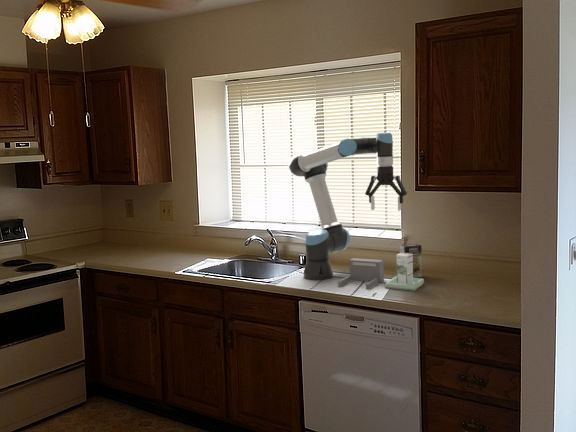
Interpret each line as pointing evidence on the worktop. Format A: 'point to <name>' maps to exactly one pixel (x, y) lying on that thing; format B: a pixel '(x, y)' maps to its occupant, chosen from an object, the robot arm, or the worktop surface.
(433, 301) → the worktop surface
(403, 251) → the coffee box
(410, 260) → the syrup box
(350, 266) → the bay
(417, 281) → the tray
